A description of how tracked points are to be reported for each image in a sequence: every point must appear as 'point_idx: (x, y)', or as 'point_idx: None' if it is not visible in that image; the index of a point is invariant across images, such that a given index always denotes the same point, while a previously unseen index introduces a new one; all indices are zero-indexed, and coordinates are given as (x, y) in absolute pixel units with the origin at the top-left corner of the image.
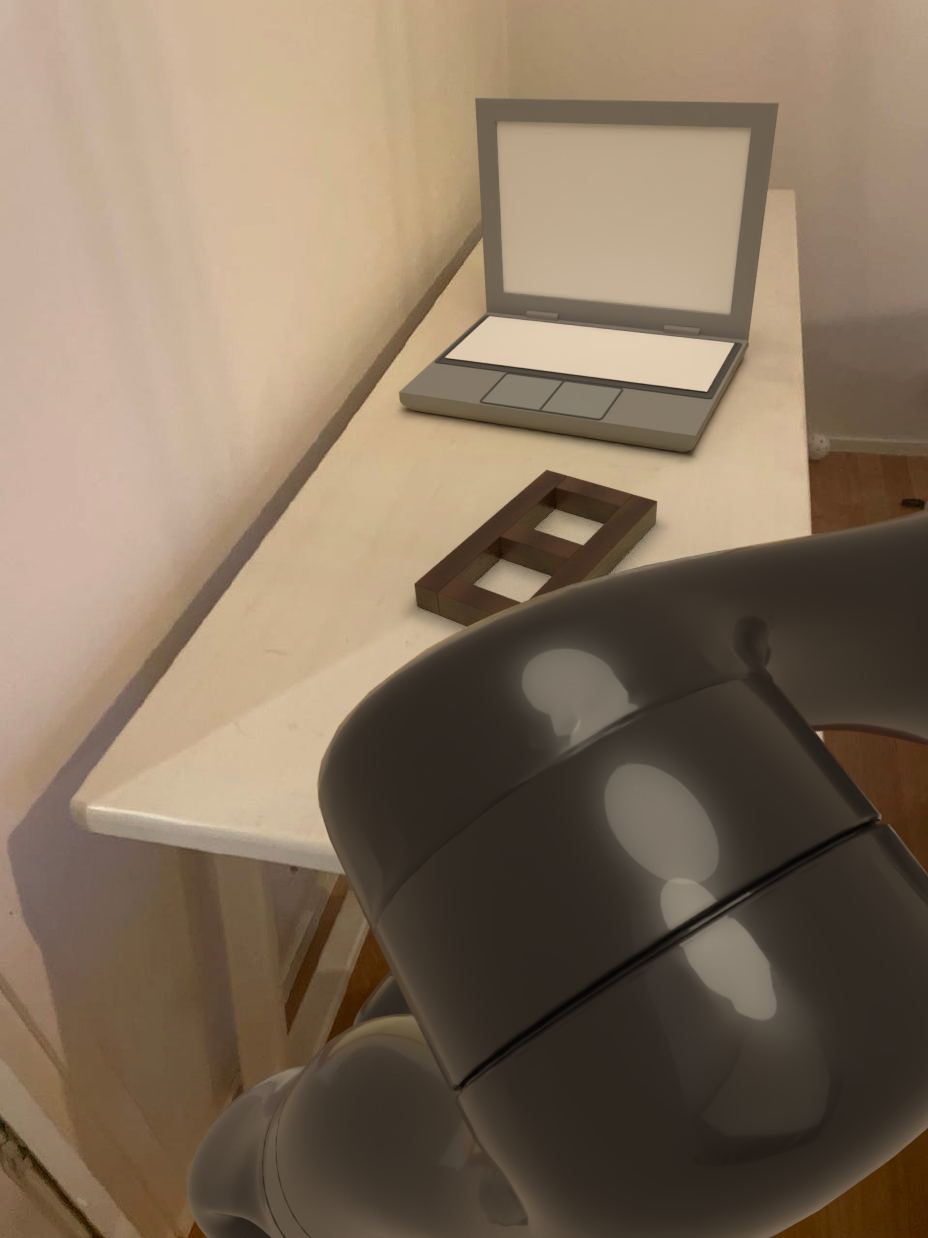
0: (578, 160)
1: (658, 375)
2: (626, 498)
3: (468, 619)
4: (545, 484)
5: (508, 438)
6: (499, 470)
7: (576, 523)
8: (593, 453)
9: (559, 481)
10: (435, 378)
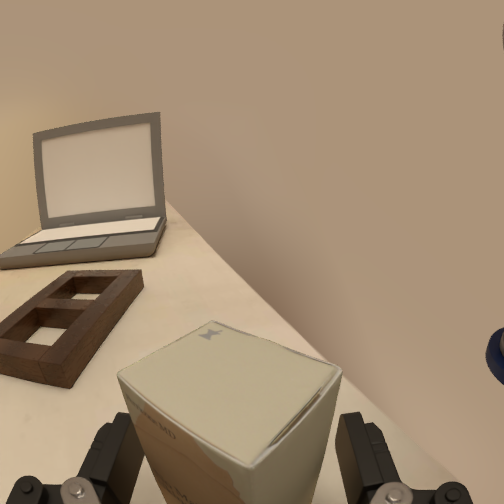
0: (76, 149)
1: (126, 229)
2: (120, 272)
3: (12, 370)
4: (66, 276)
5: (49, 270)
6: (43, 283)
7: (91, 297)
8: (97, 266)
9: (75, 273)
10: (12, 251)
